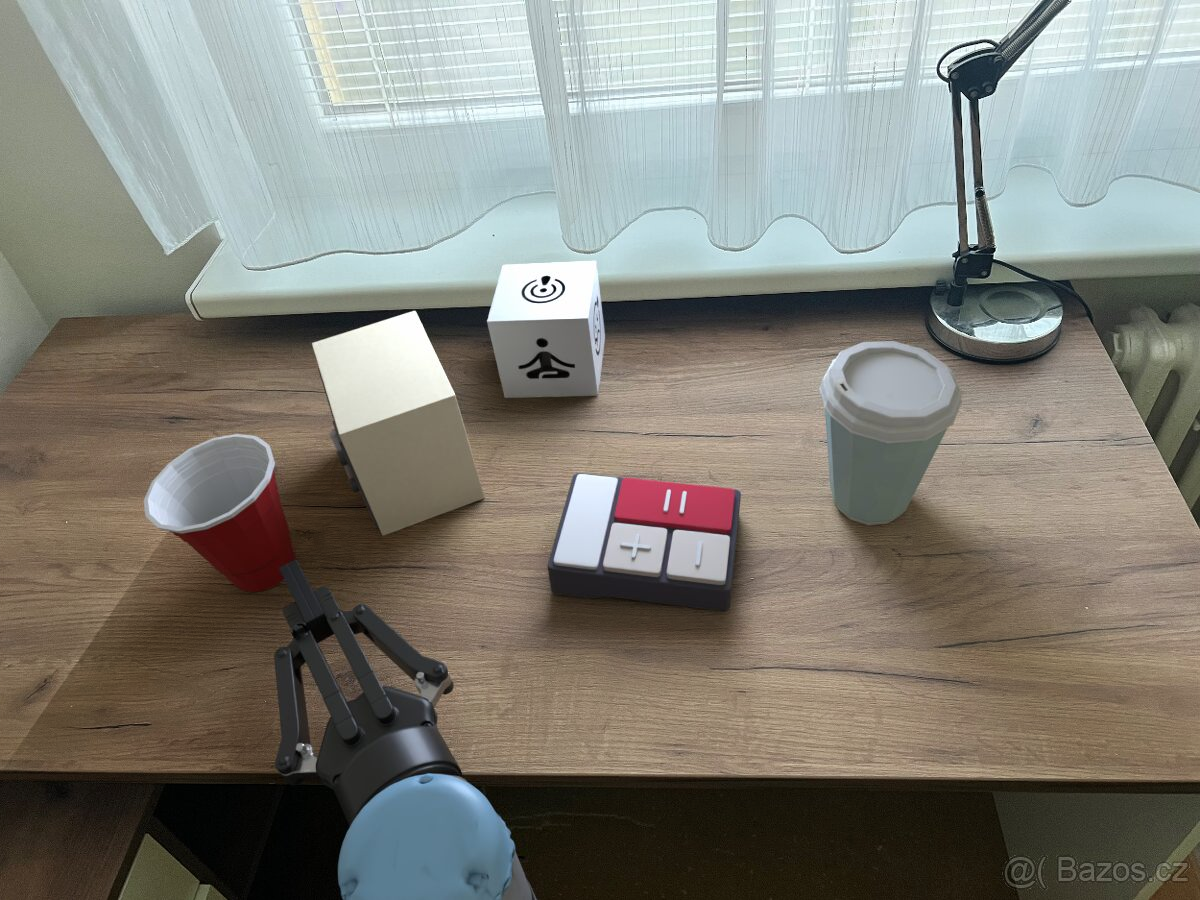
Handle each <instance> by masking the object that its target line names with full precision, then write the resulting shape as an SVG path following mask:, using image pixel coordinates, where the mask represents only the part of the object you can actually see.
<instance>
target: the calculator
mask: <svg viewBox="0 0 1200 900" xmlns="http://www.w3.org/2000/svg"><path fill="white" fill-rule="evenodd" d="M741 493H742V492H741V491H740V490H739V489H736V488H730V487H722V486H711V485H702V484H693V483H683V482H675V481H664V480H653V479H645V478H635V477H620V476H611V475H603V474H602V475H601V474H593V473H582V472H575V473H574V474H573V475H572V478H571V482H570V485H569V488H568V492H567V495H566V500H565V503H564V506H563V510H562V513H561V517H560V520H559V524H558V527H557V531H556V534H555V538H554V541H553V544H552V547H551V552H550V555H549V559H548V563H547V573H548V580H549V585H550V591H551V593H553V594H554V595H560V596H561V595H562V596H569V597H577V598H584V599H590V600H591V599H593V600H594V599H597V598H602V597H607V598H615V599H622V600H623V599H625V600H631V601H632V600H633V601H639V602H646V603H647V602H649V603H654V604H662V605H671V606H678V607H687V608H694V609H701V610H702V609H703V610H710V611H717V612H727V611H728V610H729V609H730V605H731V599H732V587H733V577H734V567H735V558H736V557H735V556H736V547H737V537H738V529H739V518H740V510H741V509H740V508H741V497H742V494H741Z"/></svg>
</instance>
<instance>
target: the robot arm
mask: <svg viewBox="0 0 1200 900" xmlns="http://www.w3.org/2000/svg"><path fill="white" fill-rule="evenodd" d="M278 569H279V571H280V573H281V575H282V577H283V579H284V580H283V581H284V583H285V585H286V587H287V589H288V591H289V593H290V595H291V597H292V599H293V602H291V603H289V604H287V605H285V606H283V607H282V614H283V616H284V618H285V620H286V624H287V625H288V627H289V629H290V634H291V636H292V640H291V642H289V644H288V645H287V646H285V645H284V646H280V647H279V648H278V649H276V650H275V651H274V654H273V663H274V673H275V682H276V683H275V684H276V692H277V703H278V713H279V724H280V725H279V726H280V736H281V739H280V742H279V746H278V749H277V753H276V757H275V760H274V766H275V769H276V770H277V771H278V772H279V773H280V775H281V776H282V777H283V779H284V780H285V781H286V783H287V784H288V785H289V786H291V787H296V786H298V785H300V784H302V783H303V781H304V780H305V779H320V780H321V782H322V784H323V785H324V786H326V787H328V788H329V789H331V790H332V791H333V792H334V794H335V797H336V799H337V801H338V803H339V806H340V807H341V810H342V812H343V814H344V817H345V819H346V821H347V824H348V826H349V828H348V830H347V831H346V834H345V836H344V839H343V841H342V843H341V848H340V850H339V851H340V852H339V857H338V862H337V880H338V886H339V888H340V895H341V898H342V900H538V899H537V898H536V897H537V896H536V895H535V893H534V890H533V888H532V886H531V883H530V882H529V880H528V879H527V877H526V874H525V871H524V869H523V867H522V864H521V862H520V859H519V856H518V854H517V852H516V844H515V841H514V840H513V839H512V838H511V834H512V832H511V830H510V829H509V828H508V827H507V825H506V822H505V821H504V820H503V819H502V817H501V816H500V815H499V814H498V813H497V812H496V810H495V809H494V807H493V806H492V804H491V802H490V801H489V800H488V798H487V797H486V796H485V795H484V794H483V793H482V792H481V791H480V790H479V789H477V788H476V787H475V786H473V785H472V784H471V783H470V782H468V781H467V779H466V778H463V771H462V769H461V768H460V766H459V764H458V762H457V761H456V758H455V757H454V755H453V753H452V752H451V750H450V748H449V746H448V745H447V743H446V741H445V739H444V738H443V736H442V734H441V733H440V731H439V728H438V713H437V710H436V709H435V707H436V706H437V704H438V703H439V701H440V699H441V697H442V696H443V695H444V696H445V695H448V694H450V693H452V692H453V690H454V688H455V685H454V684H455V683H454V682H453V679H452V677H451V674H450V672H449V669H448V667H447V665H446V664H445V663H444V662H442V661H440V660H437V659H434V658H431V657H428V656H425V655H423V654H421V653H420V652H419V651H418V650H417V649H416V648H414V646H412V645H411V643H409V641H407V640H406V639H405V638H404V637H403V636H401V635H400V634H399V633H398V632H397V631H396V630H395V629H394V628H393V627H391V626H390V625H389V624H388V623H387V622H386V621H385V620H384V619H382V617H380V615H378V614H377V613H376V612H375V611H374V610H373V609H372V608H370V607H369V606H368V605H366V603H359V604H357V605H355V606H354V607H353V608H352V610H342V609H341V608H340V605H339V604H338V602H337V600H336V599H335V597H334V595H333V593H332V591H331V589H330V587H329V586H326V585H324V584H323V585H322V586H320V587H319V588H316V589H315V590H313V588H312V586H311V584H310V582H309V580H308V578H307V576H306V575H305V573H304V571H303V569H302V568H301V566H300V563H299V561H298V560H297V559H295V560H294V561H292V562H290V563H288V564H286V565H284V566H282V567H280V568H278ZM358 634H362V635H364V636H365V637H366V638H367V639H368V640H369V641H370V642H371V643H372V644H373V645H374V646H375V647H377V648H378V649H379V650H380V651H381V653H383V654H384V655H385V656H386V657H387V658H388V659H390V661H392V662H393V663H394V664H395V665H396V666H397V667H398V668H399V669H400V670H401V671H402V672H403V673H404V674H406V675H407V676H408V677H409V678H410V679H411V680H412V681H413V683H414V686H415V688H416V690H417V692H418V693H419V694H420V695H417V694H414V693H412V692H408V691H406V690H405V691H404V690H402V689H399V688H395V687H392V686H389V685H381V682H380V681H379V679H378V677H377V675H376V673H375V671H374V669H373V668H372V665H371V663H370V662H369V660H368V658H367V656H366V654H365V652H364V650H363V649H362V647H361V645H360V643H359V641H358V639H357V637H356V635H358ZM331 636H334V637H335V638H336V641H337V642H338V645H339V646H340V649H341V650H342V652H343V655H344V656H345V658H346V660H347V662H348V664H349V666H350V668H351V670H352V672H353V674H354V675H355V678H356V679H357V682H358V684H359V686H360V687H361V690H362V693H361V694H359V695H358V696H357V697H356V698H354V699H351V700H349V701H348V700H347V699H346V697H345V695H344V692H343V691H342V688H341V687H340V685H339V683H338V681H337V679H336V676H335V675H334V672H333V670H332V669H331V667H330V664H329V662H328V661H327V659H326V656H325V654H324V653H323V651H322V648H321V646H320V645H319V643H321V642H323V641H324V640H326V639H328V638H331ZM305 664H306V666H307V668H308V669H309V672H310V674H311V676H312V678H313V680H314V682H315V685H316V686H317V688H318V692H319V693H320V695H321V697H322V701H323V702H324V705H325V707H326V709H327V711H328V713H329V715H330V717H329V719H328V721H327V723H326V726H325V729H324V732H323V733H324V734H323V737H322V740H321V744H320V748H319V750H318V755H317V753H316V751H315V749H314V748H313V746H312V744H311V735H310V727H309V719H308V710H307V704H306V694H305V686H304V685H305V684H304V678H303V671H302V670H303V669H302V666H304V665H305Z"/></svg>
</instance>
